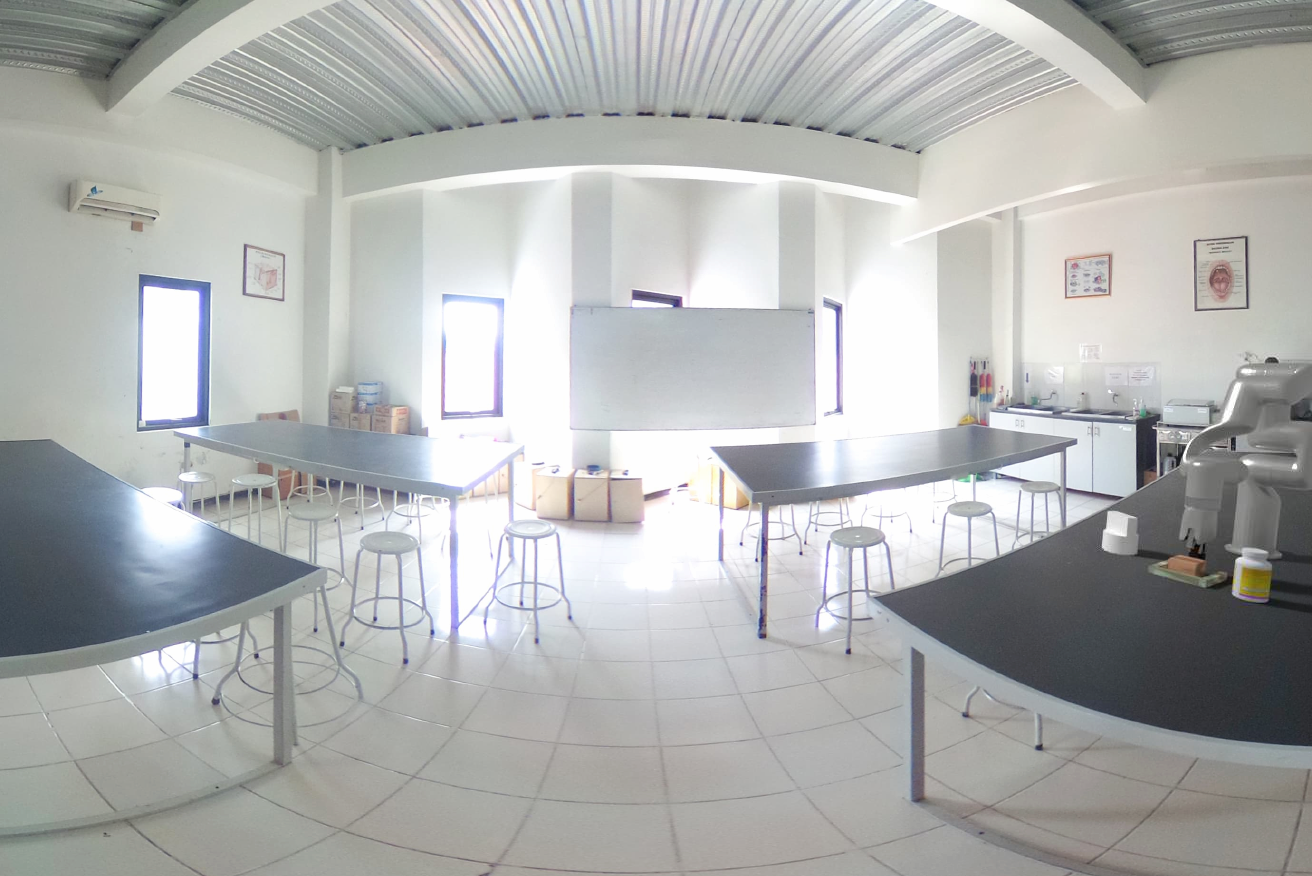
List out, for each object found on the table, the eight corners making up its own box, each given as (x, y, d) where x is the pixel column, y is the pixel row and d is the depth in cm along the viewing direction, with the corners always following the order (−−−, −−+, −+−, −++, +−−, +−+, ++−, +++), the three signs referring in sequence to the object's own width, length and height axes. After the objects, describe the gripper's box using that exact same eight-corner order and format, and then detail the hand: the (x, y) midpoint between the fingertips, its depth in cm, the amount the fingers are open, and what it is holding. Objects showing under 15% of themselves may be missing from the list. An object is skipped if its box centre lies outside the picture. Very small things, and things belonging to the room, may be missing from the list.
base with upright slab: (1144, 555, 183) (1148, 518, 181) (1115, 555, 183) (1119, 518, 181) (1122, 546, 191) (1125, 510, 190) (1094, 546, 192) (1097, 511, 190)
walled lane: (1169, 565, 173) (1170, 559, 173) (1226, 579, 161) (1227, 573, 161) (1147, 572, 168) (1148, 565, 167) (1205, 587, 156) (1206, 580, 156)
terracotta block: (1178, 571, 168) (1179, 554, 168) (1204, 577, 163) (1206, 560, 162) (1167, 574, 166) (1169, 558, 165) (1194, 581, 160) (1195, 564, 160)
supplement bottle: (1275, 604, 145) (1282, 555, 143) (1244, 602, 146) (1250, 554, 145) (1254, 594, 151) (1260, 546, 150) (1224, 592, 153) (1230, 545, 151)
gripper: (1198, 497, 170) (1192, 557, 173) (1172, 503, 164) (1166, 565, 166) (1232, 503, 164) (1225, 565, 166) (1206, 509, 157) (1199, 574, 160)
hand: (1195, 565), depth 166 cm, fingers closed
